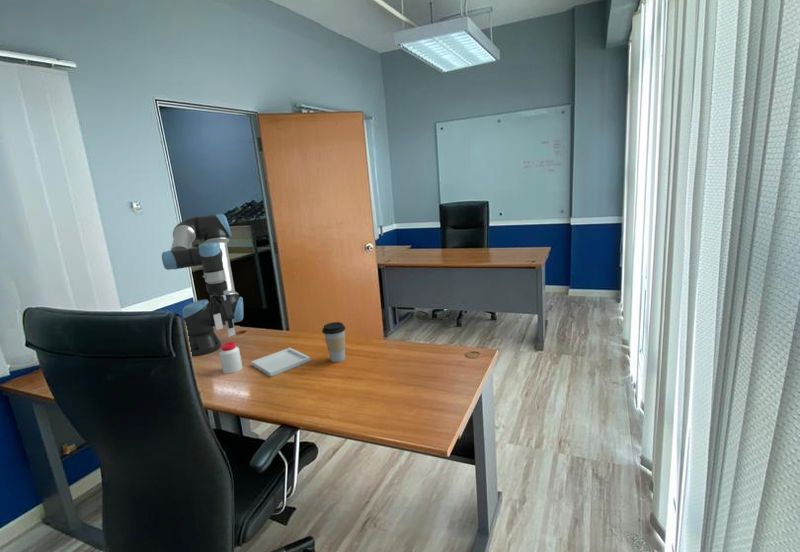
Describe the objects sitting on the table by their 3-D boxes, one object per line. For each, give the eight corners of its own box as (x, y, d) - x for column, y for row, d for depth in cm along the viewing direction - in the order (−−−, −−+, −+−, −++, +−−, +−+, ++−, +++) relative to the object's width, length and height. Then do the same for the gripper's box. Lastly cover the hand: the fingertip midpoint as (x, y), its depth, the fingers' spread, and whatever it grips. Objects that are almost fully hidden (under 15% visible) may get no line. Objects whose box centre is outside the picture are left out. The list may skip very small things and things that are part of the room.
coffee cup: (351, 354, 181) (347, 320, 177) (346, 363, 171) (341, 328, 168) (329, 355, 182) (325, 322, 178) (323, 364, 173) (318, 330, 169)
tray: (252, 365, 179) (251, 361, 179) (290, 351, 191) (289, 347, 190) (271, 377, 166) (270, 372, 165) (311, 361, 177) (310, 357, 177)
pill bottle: (238, 372, 173) (233, 347, 170) (219, 374, 173) (214, 349, 171) (245, 364, 180) (240, 340, 178) (227, 366, 181) (222, 341, 178)
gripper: (196, 280, 175) (205, 329, 180) (217, 287, 157) (227, 341, 161) (214, 276, 180) (223, 324, 185) (237, 282, 162) (246, 335, 166)
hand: (225, 332), depth 173 cm, fingers open, 13 cm apart
